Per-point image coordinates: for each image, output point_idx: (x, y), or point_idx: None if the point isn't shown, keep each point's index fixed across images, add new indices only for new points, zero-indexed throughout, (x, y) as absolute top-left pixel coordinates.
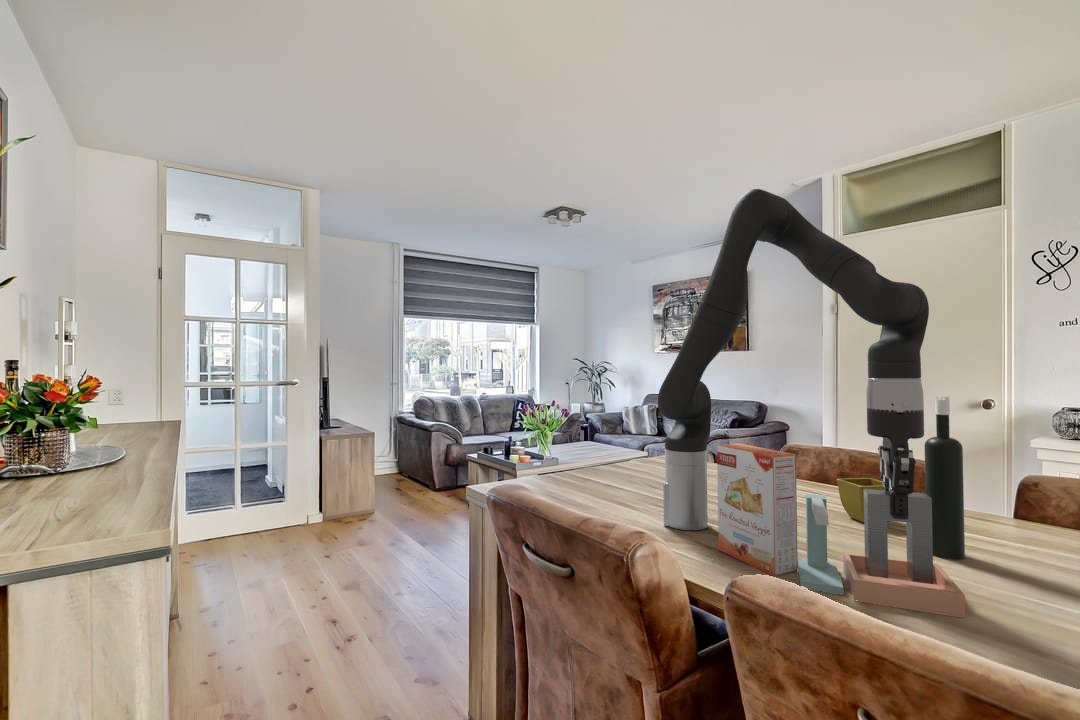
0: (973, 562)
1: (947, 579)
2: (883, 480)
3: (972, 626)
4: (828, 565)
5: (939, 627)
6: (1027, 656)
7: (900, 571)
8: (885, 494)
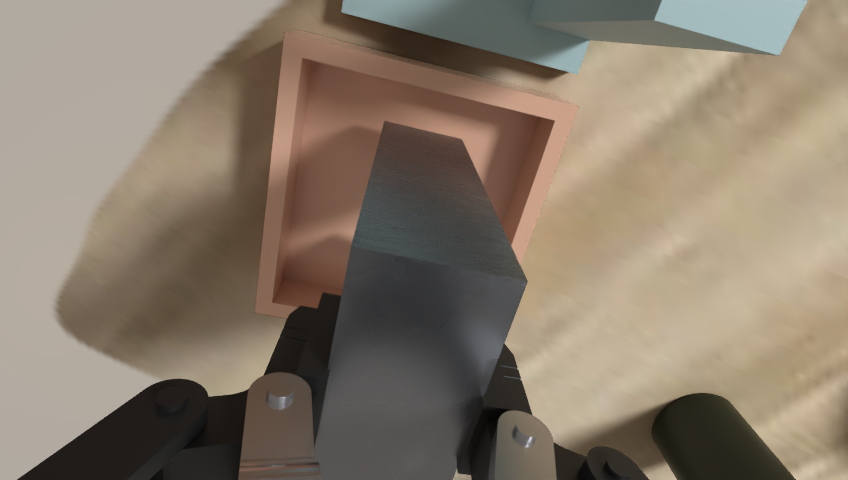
0: (633, 451)
1: None
2: (544, 450)
3: (228, 274)
4: (554, 37)
5: (193, 199)
6: (110, 304)
7: None
8: (350, 352)
